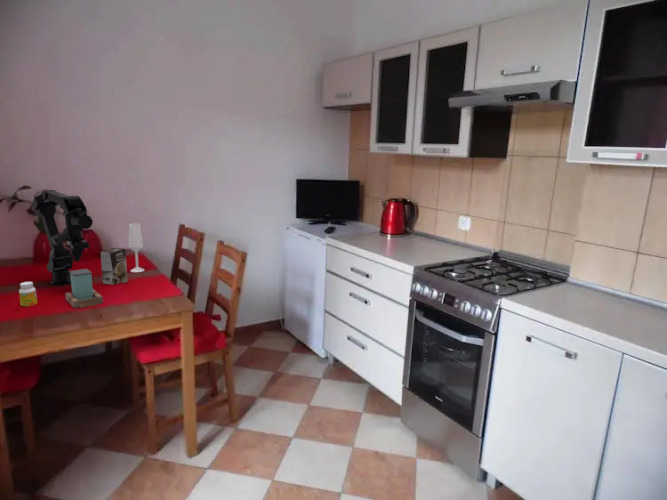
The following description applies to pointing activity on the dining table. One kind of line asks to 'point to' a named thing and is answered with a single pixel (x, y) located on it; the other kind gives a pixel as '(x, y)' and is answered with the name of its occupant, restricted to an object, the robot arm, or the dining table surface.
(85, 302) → the walnut track
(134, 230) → the champagne flute
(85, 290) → the grey teal box
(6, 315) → the dining table surface
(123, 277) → the coffee box
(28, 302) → the supplement bottle
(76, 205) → the robot arm
